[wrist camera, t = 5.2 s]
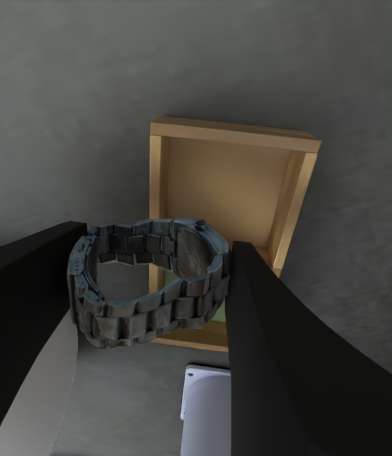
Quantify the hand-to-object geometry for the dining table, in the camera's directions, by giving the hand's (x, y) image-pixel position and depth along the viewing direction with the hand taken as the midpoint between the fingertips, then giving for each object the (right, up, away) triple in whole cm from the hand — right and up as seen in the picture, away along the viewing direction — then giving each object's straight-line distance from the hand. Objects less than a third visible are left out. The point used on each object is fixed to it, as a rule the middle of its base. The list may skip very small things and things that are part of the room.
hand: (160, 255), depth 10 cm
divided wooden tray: (+3, 0, +9) cm, 10 cm away
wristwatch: (0, +1, +1) cm, 2 cm away
